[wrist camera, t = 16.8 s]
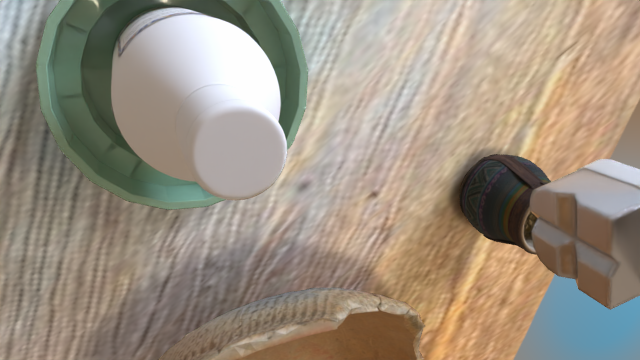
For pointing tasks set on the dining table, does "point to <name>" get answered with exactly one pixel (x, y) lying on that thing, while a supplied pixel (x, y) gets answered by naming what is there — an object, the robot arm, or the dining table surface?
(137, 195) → the green pet bowl
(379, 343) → the ceramic bowl
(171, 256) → the dining table surface
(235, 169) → the bath foam
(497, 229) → the mate gourd
